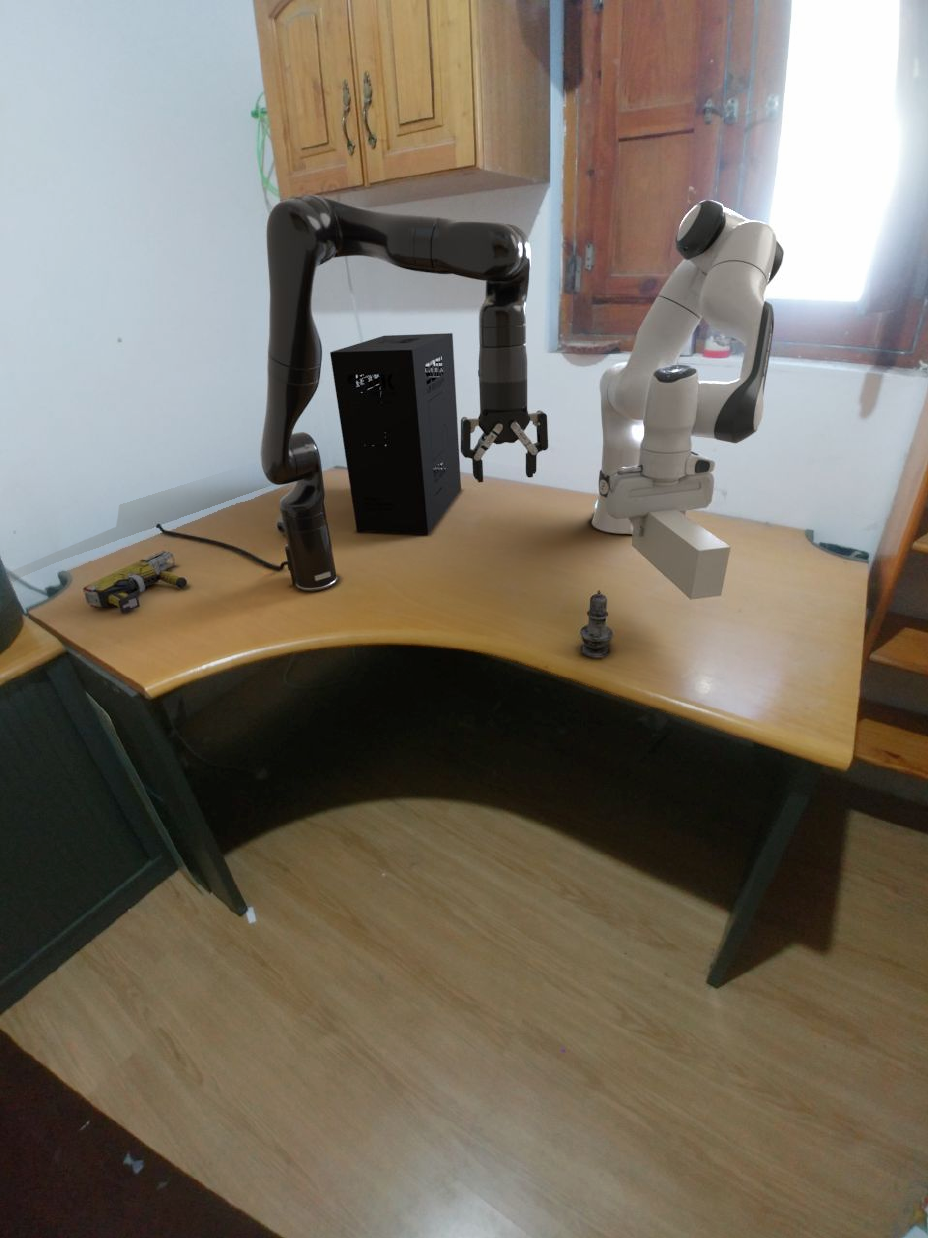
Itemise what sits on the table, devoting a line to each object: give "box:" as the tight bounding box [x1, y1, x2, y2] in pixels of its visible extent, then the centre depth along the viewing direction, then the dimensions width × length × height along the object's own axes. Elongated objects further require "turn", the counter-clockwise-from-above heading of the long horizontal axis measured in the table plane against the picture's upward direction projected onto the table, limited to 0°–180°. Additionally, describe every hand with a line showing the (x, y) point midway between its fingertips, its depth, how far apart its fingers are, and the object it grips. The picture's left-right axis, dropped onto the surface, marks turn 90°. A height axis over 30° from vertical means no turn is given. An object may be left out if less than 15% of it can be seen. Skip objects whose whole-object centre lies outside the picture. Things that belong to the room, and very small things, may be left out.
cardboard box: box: [329, 332, 462, 536], centre depth 166 cm, size 38×20×45 cm, turn 167°
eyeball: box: [275, 513, 286, 535], centre depth 163 cm, size 6×6×6 cm
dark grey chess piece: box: [579, 589, 614, 659], centre depth 105 cm, size 6×6×12 cm
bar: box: [631, 509, 732, 600], centre depth 109 cm, size 24×6×9 cm, turn 10°
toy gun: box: [82, 550, 188, 615], centre depth 138 cm, size 5×24×15 cm
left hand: (504, 478), depth 102 cm, fingers open, 8 cm apart
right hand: (654, 533), depth 117 cm, fingers closed on bar, 5 cm apart
